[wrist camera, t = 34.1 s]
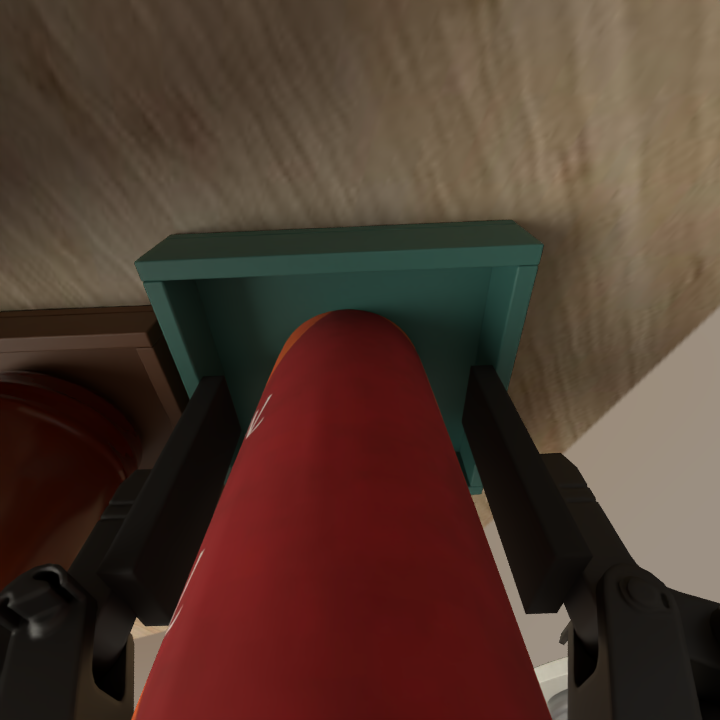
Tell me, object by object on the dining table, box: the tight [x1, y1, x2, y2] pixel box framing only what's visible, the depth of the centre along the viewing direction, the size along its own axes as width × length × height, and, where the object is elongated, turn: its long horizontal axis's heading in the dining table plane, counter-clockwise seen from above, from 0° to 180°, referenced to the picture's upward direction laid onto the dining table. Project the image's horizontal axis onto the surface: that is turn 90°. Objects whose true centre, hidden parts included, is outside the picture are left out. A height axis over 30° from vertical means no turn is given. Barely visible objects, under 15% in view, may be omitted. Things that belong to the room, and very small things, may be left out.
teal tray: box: [134, 220, 544, 495], centre depth 14 cm, size 11×11×2 cm
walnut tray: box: [0, 306, 225, 512], centre depth 16 cm, size 12×14×2 cm
